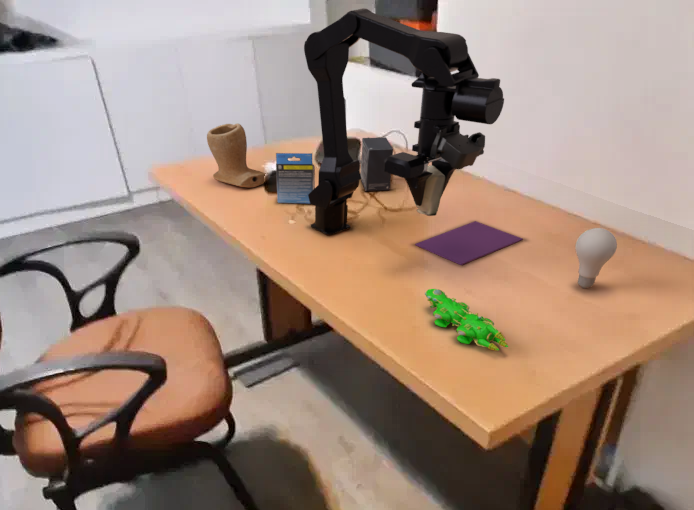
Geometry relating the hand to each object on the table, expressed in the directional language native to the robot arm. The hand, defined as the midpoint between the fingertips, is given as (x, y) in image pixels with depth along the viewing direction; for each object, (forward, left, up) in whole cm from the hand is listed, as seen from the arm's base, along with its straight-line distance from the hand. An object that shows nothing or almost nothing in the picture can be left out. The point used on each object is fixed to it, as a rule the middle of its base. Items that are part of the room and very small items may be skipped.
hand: (428, 201), depth 117 cm
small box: (+22, +37, -12) cm, 45 cm away
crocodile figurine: (-14, -22, -12) cm, 29 cm away
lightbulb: (+13, -26, -12) cm, 31 cm away
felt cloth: (+12, -1, -12) cm, 17 cm away
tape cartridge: (0, +41, -12) cm, 43 cm away
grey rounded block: (0, 0, -2) cm, 2 cm away
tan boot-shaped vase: (-4, +62, -12) cm, 63 cm away
